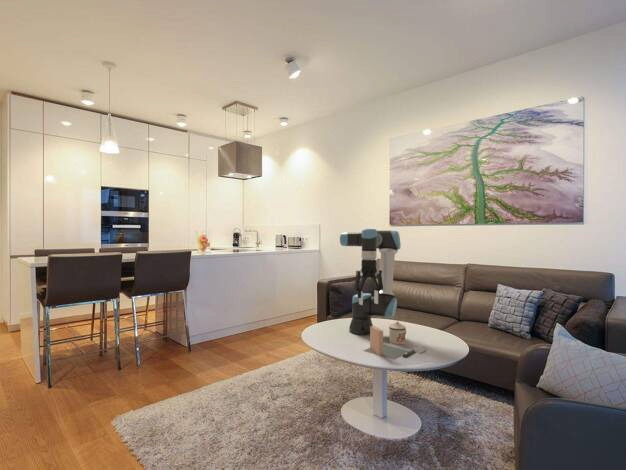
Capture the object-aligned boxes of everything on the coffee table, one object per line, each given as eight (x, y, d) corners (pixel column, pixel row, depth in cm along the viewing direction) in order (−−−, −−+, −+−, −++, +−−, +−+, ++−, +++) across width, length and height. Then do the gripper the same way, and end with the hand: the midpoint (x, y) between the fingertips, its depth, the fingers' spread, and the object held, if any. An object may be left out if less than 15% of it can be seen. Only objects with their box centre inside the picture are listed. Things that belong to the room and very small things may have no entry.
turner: (410, 360, 168) (410, 356, 168) (398, 356, 172) (398, 353, 172) (427, 349, 183) (427, 346, 183) (416, 347, 187) (416, 343, 187)
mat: (363, 351, 179) (363, 350, 179) (379, 344, 191) (379, 343, 191) (394, 360, 167) (394, 359, 167) (409, 352, 179) (409, 351, 179)
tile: (378, 355, 172) (378, 331, 172) (370, 349, 181) (370, 326, 181) (383, 354, 173) (383, 330, 173) (374, 348, 182) (374, 326, 181)
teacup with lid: (398, 346, 188) (398, 325, 187) (385, 342, 195) (385, 321, 195) (412, 342, 195) (412, 321, 195) (399, 338, 202) (399, 318, 202)
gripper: (353, 260, 169) (353, 306, 170) (390, 259, 176) (390, 304, 176) (347, 258, 176) (346, 303, 177) (383, 258, 183) (382, 301, 183)
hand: (368, 303), depth 176 cm, fingers open, 8 cm apart
